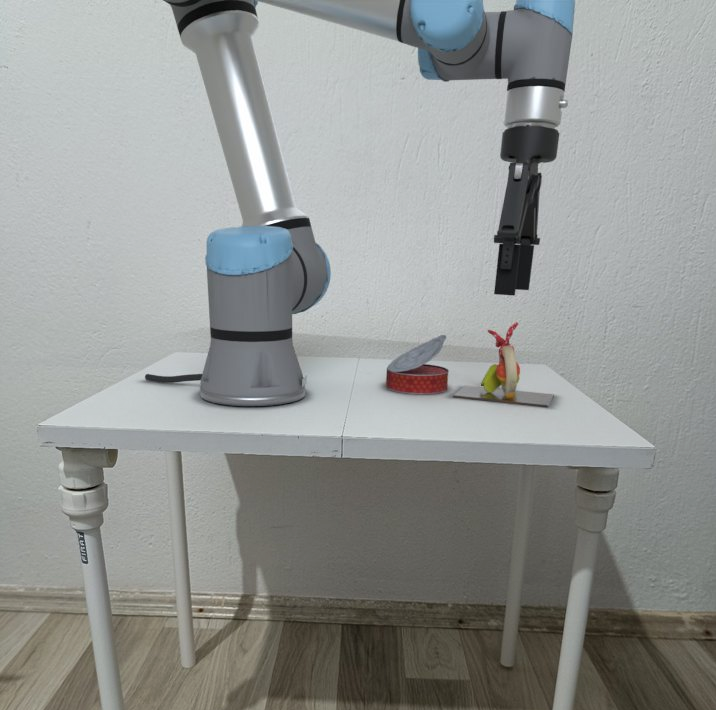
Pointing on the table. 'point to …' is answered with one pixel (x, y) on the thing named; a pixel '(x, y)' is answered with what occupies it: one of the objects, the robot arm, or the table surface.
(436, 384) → the canned food
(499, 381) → the bird rattle
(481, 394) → the flat grey rectangular slab
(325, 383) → the table surface
